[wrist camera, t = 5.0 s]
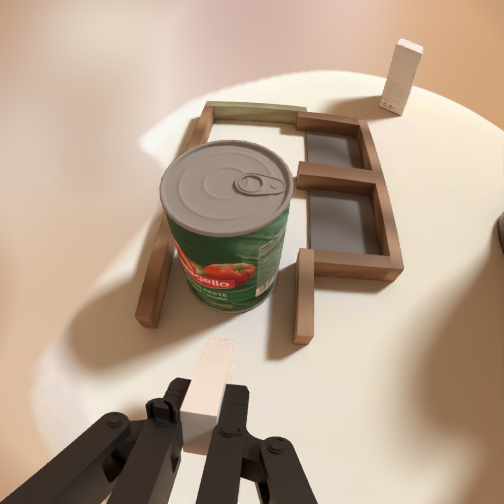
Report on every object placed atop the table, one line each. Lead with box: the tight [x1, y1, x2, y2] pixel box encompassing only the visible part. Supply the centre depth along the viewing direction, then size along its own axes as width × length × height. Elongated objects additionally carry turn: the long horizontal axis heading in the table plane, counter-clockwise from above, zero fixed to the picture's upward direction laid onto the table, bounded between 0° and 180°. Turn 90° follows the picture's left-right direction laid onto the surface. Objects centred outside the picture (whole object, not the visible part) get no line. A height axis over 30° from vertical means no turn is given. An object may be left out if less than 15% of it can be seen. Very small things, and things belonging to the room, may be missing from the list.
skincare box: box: [379, 38, 423, 115], centre depth 39 cm, size 6×4×12 cm
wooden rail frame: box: [135, 101, 404, 344], centre depth 31 cm, size 30×22×2 cm
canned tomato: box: [160, 140, 293, 314], centre depth 22 cm, size 8×8×11 cm
